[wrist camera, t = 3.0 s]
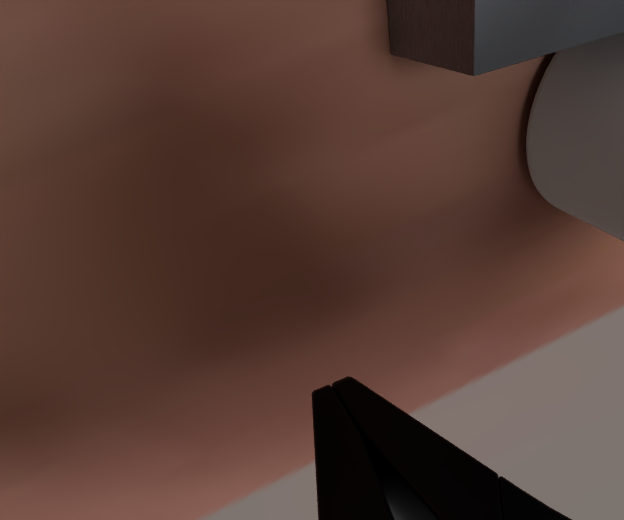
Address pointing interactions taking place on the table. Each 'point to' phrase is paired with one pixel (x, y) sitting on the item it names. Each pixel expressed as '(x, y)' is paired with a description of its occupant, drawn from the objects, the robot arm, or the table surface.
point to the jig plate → (496, 30)
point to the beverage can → (581, 133)
